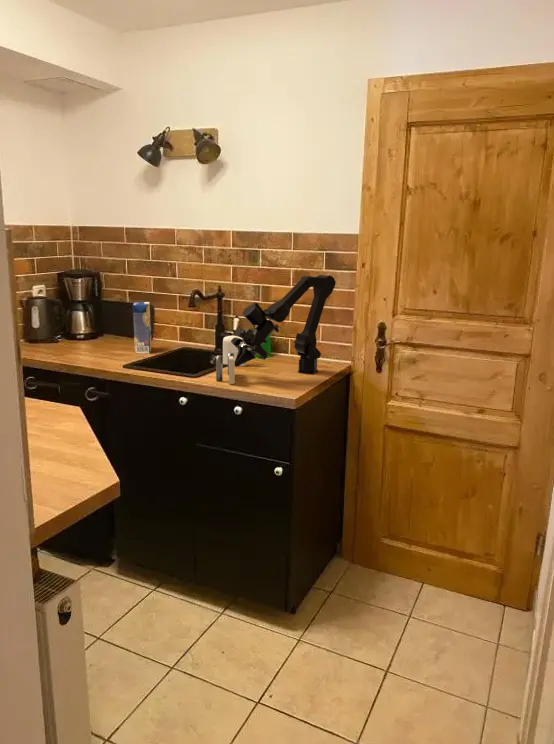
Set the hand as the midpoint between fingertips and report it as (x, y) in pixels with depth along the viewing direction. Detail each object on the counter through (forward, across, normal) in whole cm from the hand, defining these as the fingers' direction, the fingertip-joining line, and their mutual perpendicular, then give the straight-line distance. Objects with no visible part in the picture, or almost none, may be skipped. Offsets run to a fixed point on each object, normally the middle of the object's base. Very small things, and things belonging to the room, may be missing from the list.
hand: (235, 365), depth 209 cm
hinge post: (+2, -11, +8) cm, 14 cm away
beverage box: (+11, -71, -2) cm, 72 cm away
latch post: (+7, -5, +2) cm, 9 cm away
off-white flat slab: (+4, -4, +5) cm, 7 cm away
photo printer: (-5, -26, +15) cm, 30 cm away
